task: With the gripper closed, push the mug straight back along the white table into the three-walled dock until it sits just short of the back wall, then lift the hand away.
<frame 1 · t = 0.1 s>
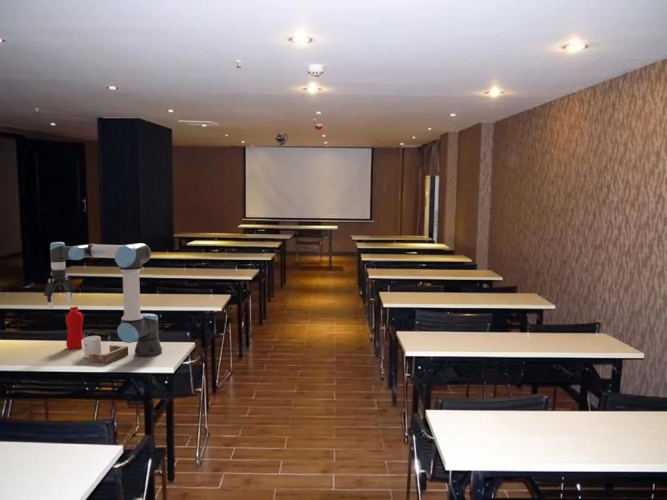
hand: (60, 305, 338), 28 cm above the table, fingers open, 13 cm apart
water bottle: (75, 347, 351), on the table
dock: (107, 358, 329), on the table
mug: (90, 357, 332), on the table
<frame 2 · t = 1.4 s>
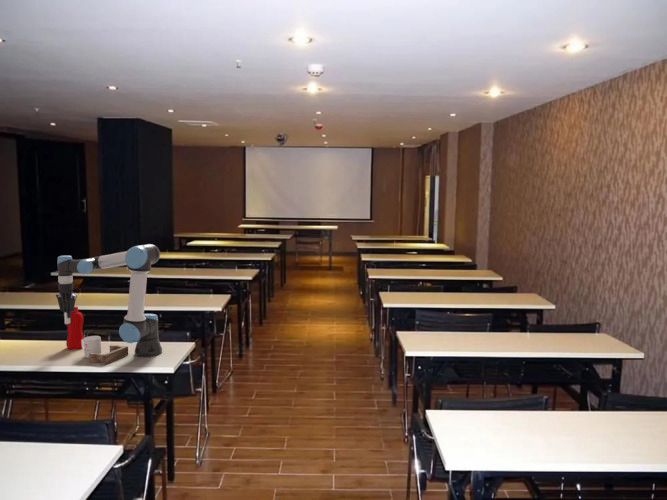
hand: (67, 323, 335), 18 cm above the table, fingers closed
nothing on the table moved.
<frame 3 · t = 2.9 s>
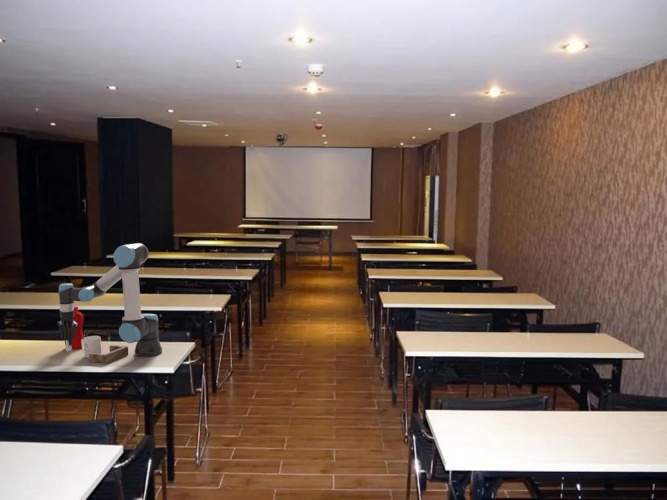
hand: (68, 350, 336), 2 cm above the table, fingers closed
nothing on the table moved.
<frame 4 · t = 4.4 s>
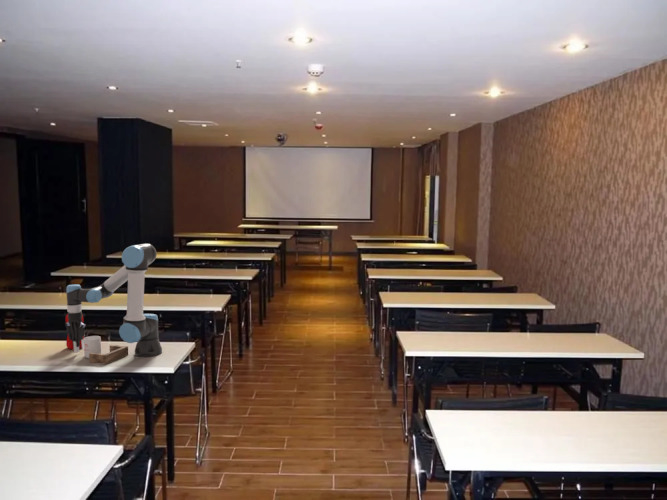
hand: (76, 352, 335), 2 cm above the table, fingers closed
mug: (90, 356, 332), on the table, touching hand
everything else where it was.
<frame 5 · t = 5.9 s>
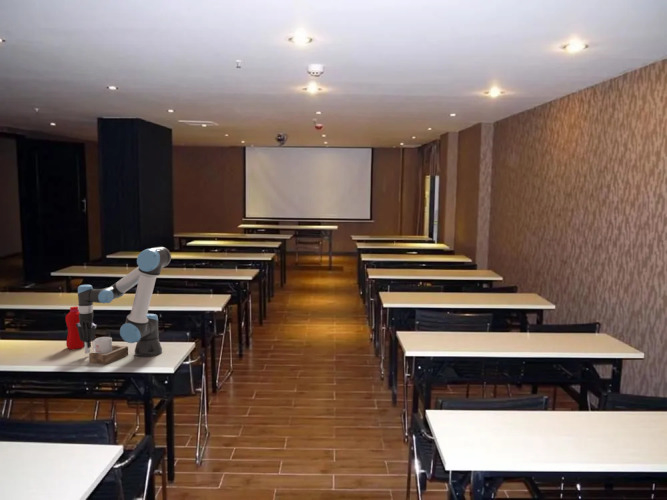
hand: (87, 352, 332), 2 cm above the table, fingers closed
mug: (101, 358, 330), on the table, touching hand
everything else where it was.
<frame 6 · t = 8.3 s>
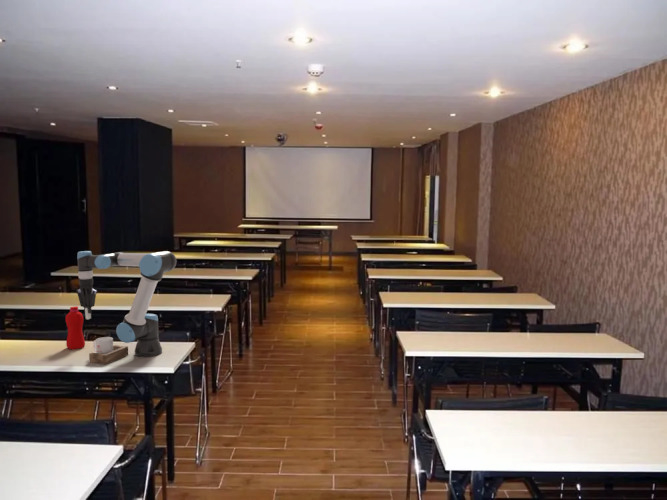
hand: (88, 318, 336), 21 cm above the table, fingers closed
mug: (103, 358, 330), on the table
everything else where it was.
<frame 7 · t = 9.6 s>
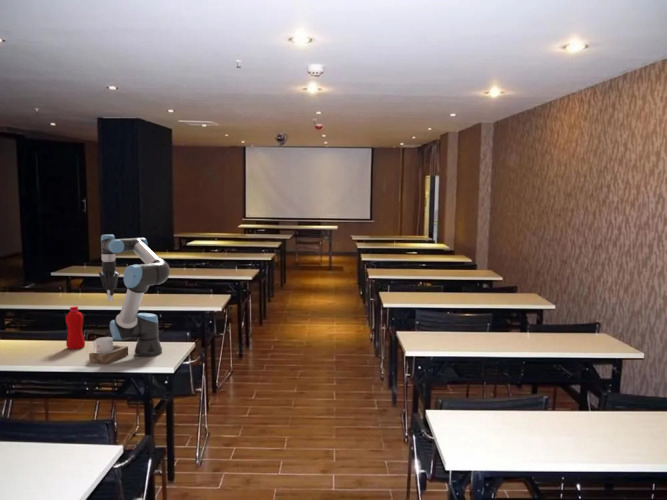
hand: (110, 300, 343), 29 cm above the table, fingers closed
nothing on the table moved.
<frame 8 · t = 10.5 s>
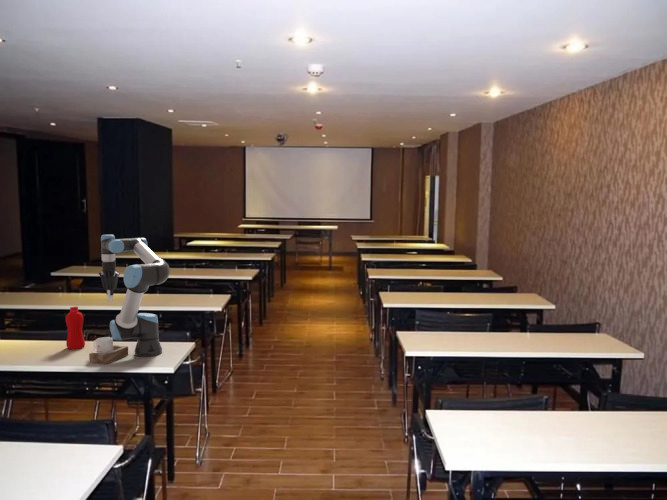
hand: (110, 300, 344), 29 cm above the table, fingers closed
nothing on the table moved.
at the end: mug inside the target area (2.7 cm from its centre), on the table; mug tilted 0°; the gripper is holding nothing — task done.
